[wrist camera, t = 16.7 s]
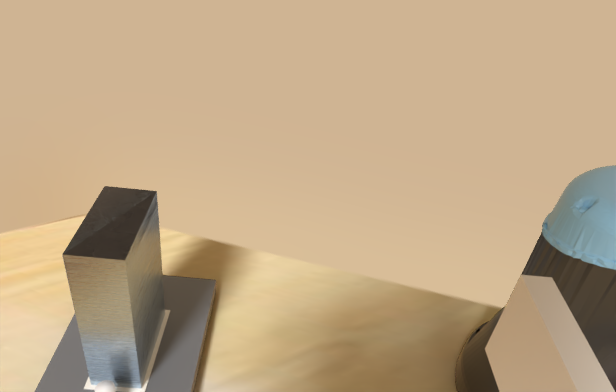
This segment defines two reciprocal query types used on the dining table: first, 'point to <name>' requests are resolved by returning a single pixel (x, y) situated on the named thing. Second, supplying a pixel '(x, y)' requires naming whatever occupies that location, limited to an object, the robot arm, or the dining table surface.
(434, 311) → the dining table surface
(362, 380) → the dining table surface
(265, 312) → the dining table surface
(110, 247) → the block
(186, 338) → the slotted base plate
